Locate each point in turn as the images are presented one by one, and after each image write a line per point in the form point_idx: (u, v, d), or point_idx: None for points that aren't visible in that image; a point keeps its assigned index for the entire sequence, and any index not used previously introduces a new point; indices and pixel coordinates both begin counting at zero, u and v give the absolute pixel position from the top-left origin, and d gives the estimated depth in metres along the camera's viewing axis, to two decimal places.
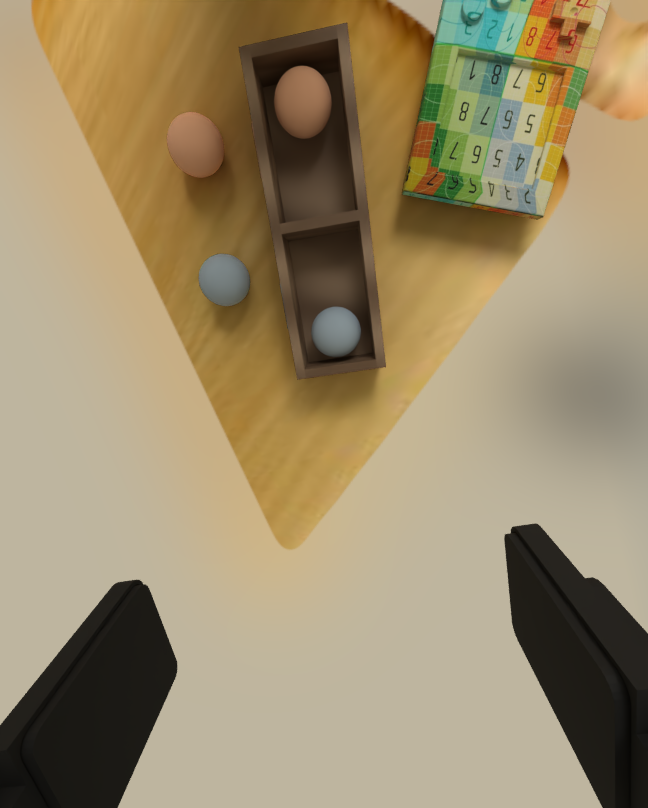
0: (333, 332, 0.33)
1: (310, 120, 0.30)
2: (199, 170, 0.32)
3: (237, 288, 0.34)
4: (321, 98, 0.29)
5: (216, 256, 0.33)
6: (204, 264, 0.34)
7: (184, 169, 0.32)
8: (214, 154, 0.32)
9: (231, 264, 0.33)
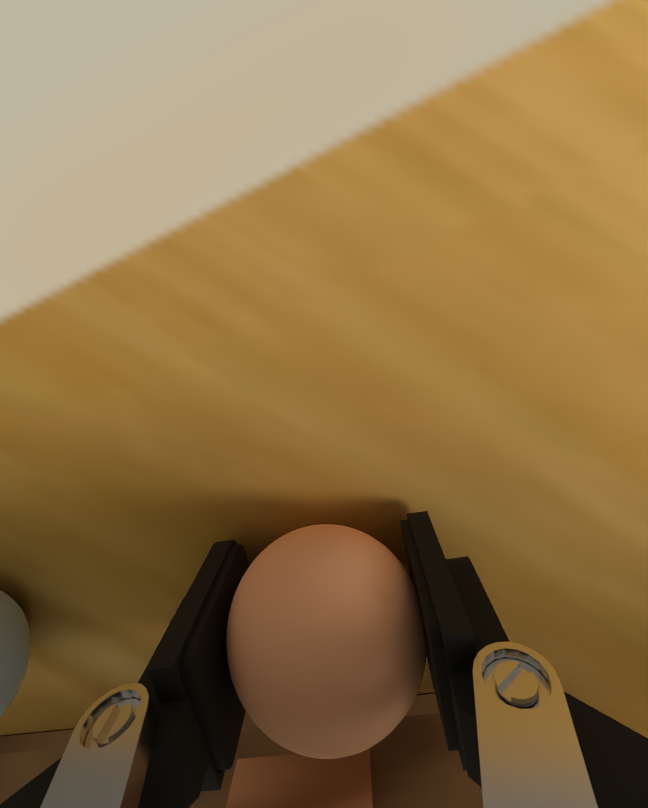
0: None
1: None
2: None
3: None
4: None
5: None
6: None
7: (231, 620, 0.08)
8: None
9: None
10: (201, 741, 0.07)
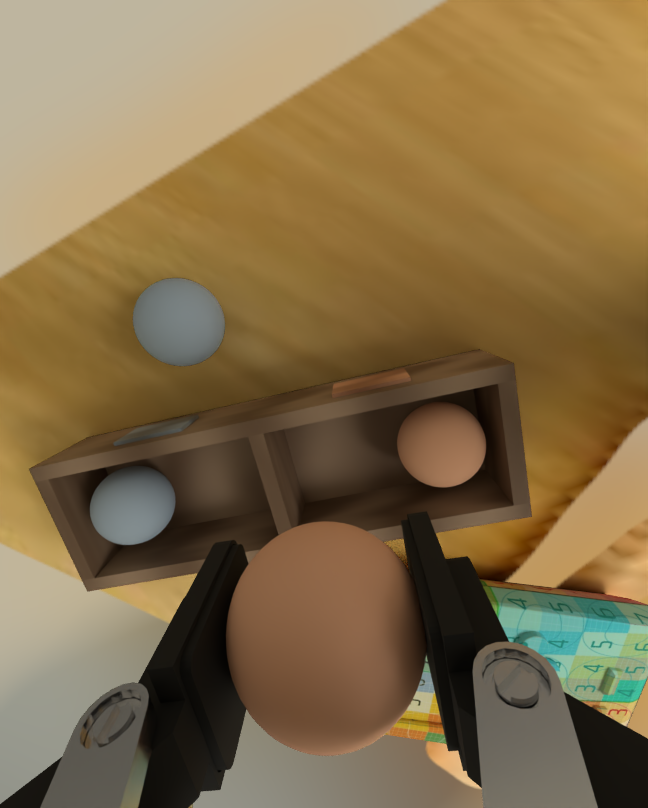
0: (114, 523, 0.21)
1: (413, 468, 0.20)
2: None
3: (159, 357, 0.19)
4: (440, 484, 0.20)
5: (206, 315, 0.19)
6: (189, 295, 0.19)
7: (231, 616, 0.08)
8: None
9: (195, 346, 0.19)
10: (201, 741, 0.07)
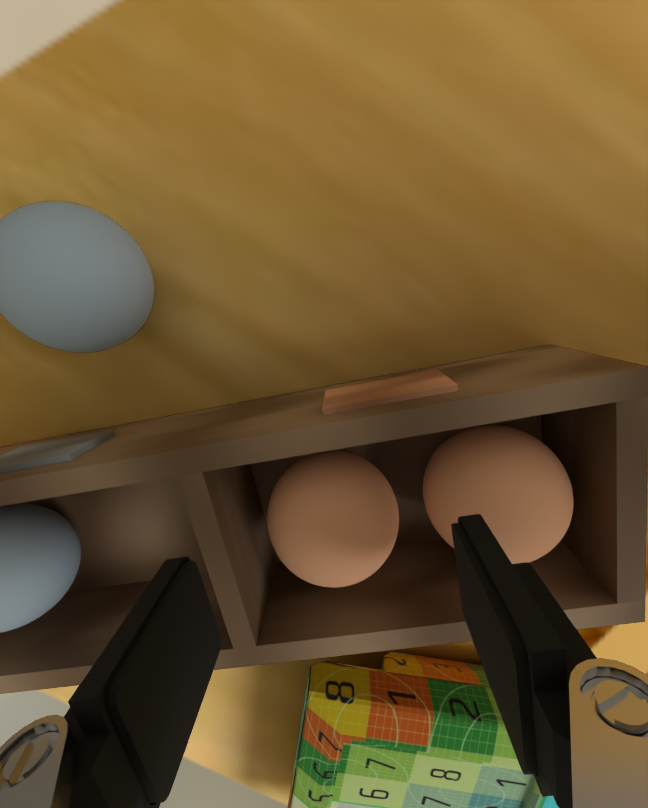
0: None
1: (452, 536, 0.12)
2: (271, 540, 0.13)
3: (30, 334, 0.11)
4: None
5: (111, 266, 0.11)
6: (77, 227, 0.11)
7: (272, 504, 0.13)
8: None
9: (89, 318, 0.11)
10: (130, 774, 0.07)
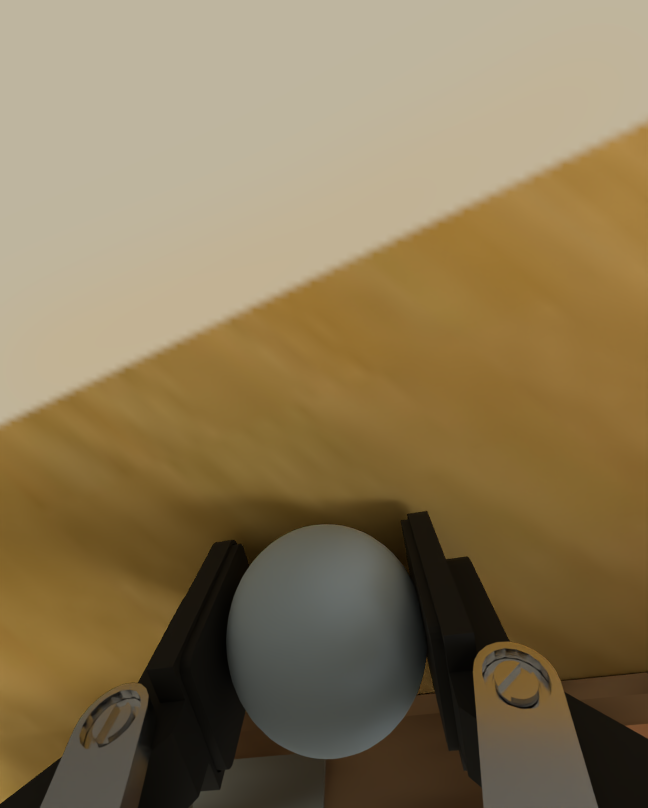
0: None
1: None
2: None
3: None
4: None
5: (419, 664, 0.08)
6: (387, 629, 0.07)
7: None
8: None
9: (385, 736, 0.08)
10: (201, 741, 0.07)
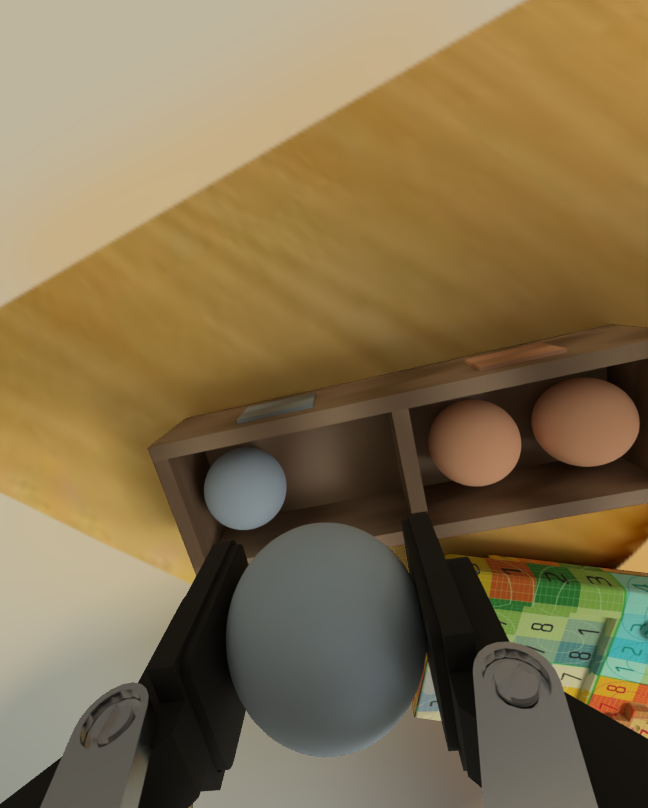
0: (238, 505, 0.19)
1: (562, 446, 0.19)
2: (436, 457, 0.20)
3: None
4: (591, 463, 0.19)
5: (419, 662, 0.08)
6: (387, 627, 0.07)
7: (438, 433, 0.19)
8: (458, 482, 0.20)
9: None
10: (201, 741, 0.07)
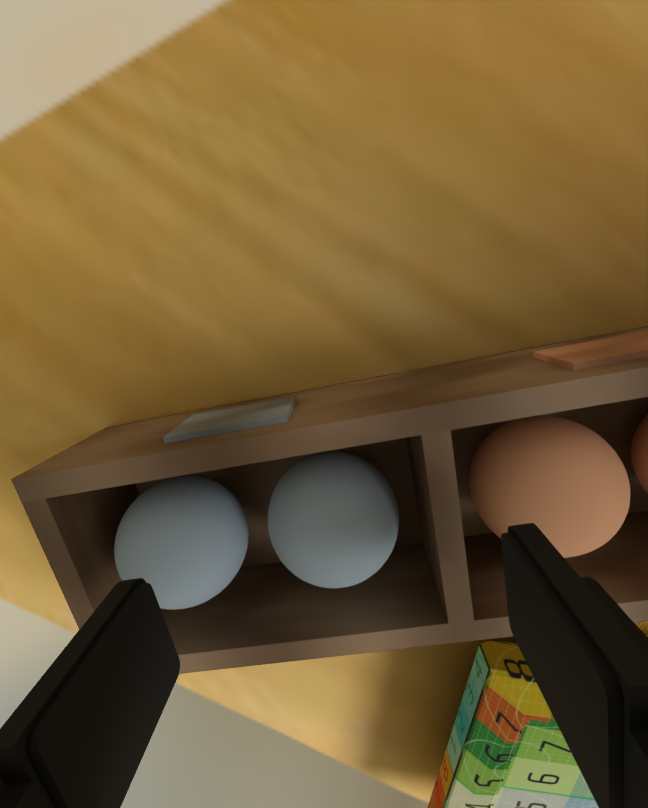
0: (160, 578, 0.12)
1: None
2: (485, 508, 0.12)
3: (310, 583, 0.12)
4: None
5: (392, 528, 0.12)
6: (371, 502, 0.12)
7: (491, 469, 0.12)
8: None
9: (371, 574, 0.12)
10: None
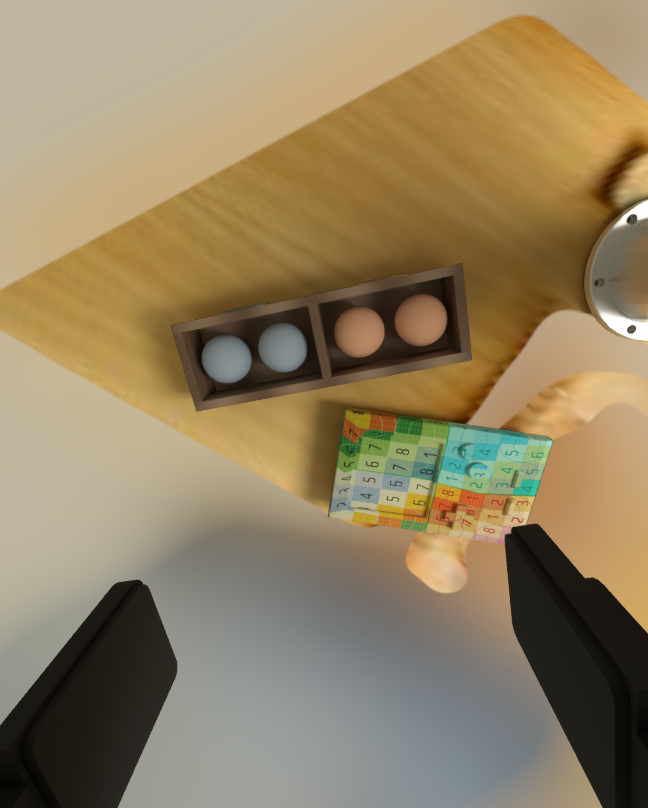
0: (221, 360, 0.34)
1: (404, 330, 0.33)
2: (336, 338, 0.34)
3: (273, 367, 0.35)
4: (419, 340, 0.33)
5: (302, 345, 0.34)
6: (293, 334, 0.34)
7: (336, 323, 0.34)
8: (348, 354, 0.34)
9: (294, 362, 0.34)
10: None
